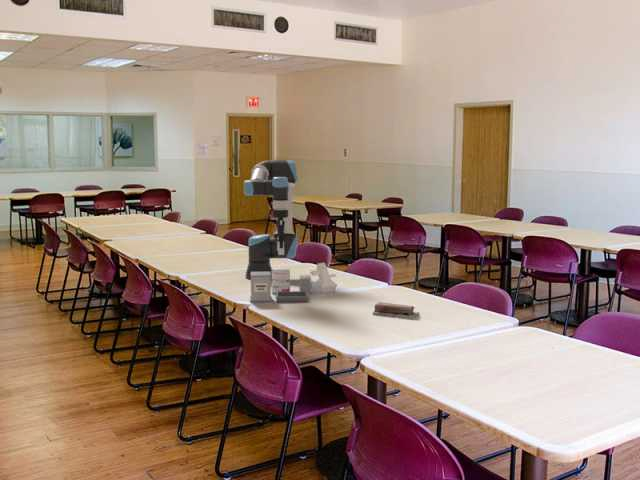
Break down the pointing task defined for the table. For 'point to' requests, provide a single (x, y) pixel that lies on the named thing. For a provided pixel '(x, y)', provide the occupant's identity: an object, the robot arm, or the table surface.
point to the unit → (260, 287)
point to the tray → (292, 296)
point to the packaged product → (395, 310)
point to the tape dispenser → (323, 280)
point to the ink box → (280, 280)
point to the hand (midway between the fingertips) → (280, 252)
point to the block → (305, 283)
